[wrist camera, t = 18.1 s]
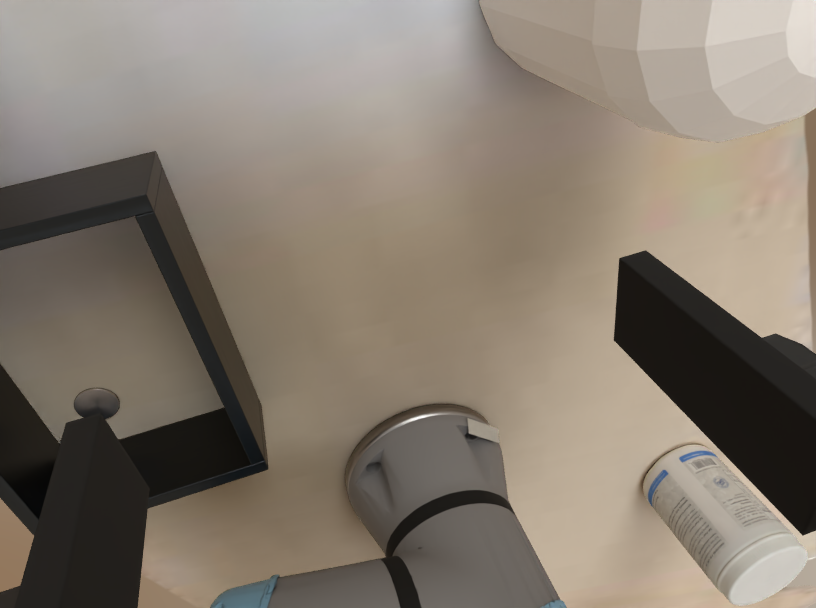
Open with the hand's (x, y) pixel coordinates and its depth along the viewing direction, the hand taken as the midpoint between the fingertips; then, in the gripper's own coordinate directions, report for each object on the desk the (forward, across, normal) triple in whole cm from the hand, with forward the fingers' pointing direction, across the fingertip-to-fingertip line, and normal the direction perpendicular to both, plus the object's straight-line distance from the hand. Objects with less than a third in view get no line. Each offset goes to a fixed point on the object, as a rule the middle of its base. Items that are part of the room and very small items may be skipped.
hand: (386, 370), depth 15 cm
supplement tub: (+27, +34, -52) cm, 68 cm away
